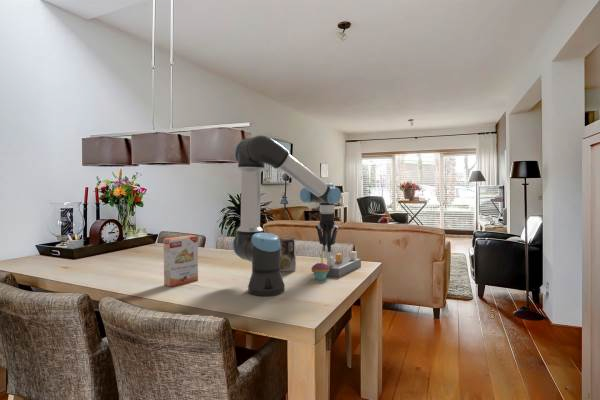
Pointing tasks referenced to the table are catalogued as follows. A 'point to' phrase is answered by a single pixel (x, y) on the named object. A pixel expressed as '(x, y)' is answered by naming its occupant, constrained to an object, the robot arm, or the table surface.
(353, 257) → the switch
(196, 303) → the table surface
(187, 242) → the cracker box
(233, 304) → the table surface
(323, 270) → the cupcake
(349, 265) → the power bar
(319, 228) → the robot arm
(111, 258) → the table surface
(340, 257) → the switch
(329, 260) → the switch
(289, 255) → the coffee box
